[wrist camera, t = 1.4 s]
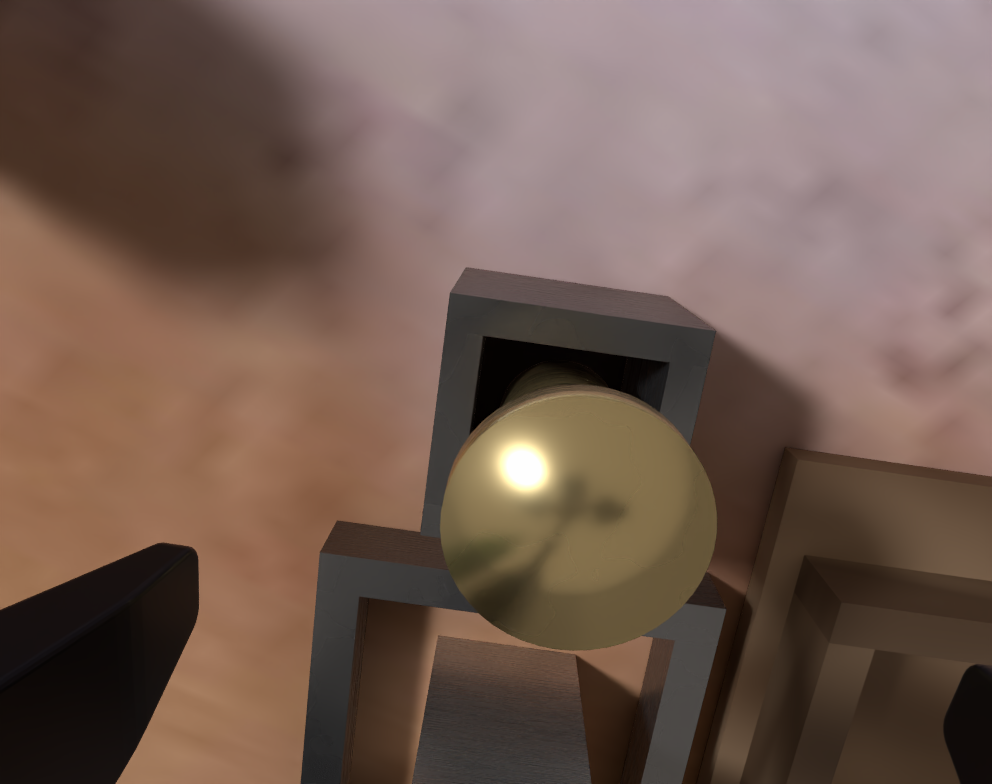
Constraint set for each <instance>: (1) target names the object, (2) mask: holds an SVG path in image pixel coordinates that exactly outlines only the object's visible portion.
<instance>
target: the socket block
mask: <svg viewBox="0 0 992 784" xmlns="http://www.w3.org/2000/svg"><path fill="white" fill-rule="evenodd" d="M715 333H716V331H715V330H714V329H712V328H711V327H710V326H708V325H707V324H706V323H704V322H703V321H701V320H700V319H699V318H697V317H696V316H694V315H693V314H692V313H690V312H689V311H688V310H686V309H685V308H683V307H682V306H681V305H679V304H678V303H676V302H675V301H674V300H672V299H671V298H670V297H668V296H661V295H654V294H647V293H640V292H633V291H626V290H619V289H612V288H605V287H598V286H592V285H585V284H578V283H571V282H564V281H557V280H550V279H543V278H536V277H529V276H522V275H516V274H509V273H502V272H495V271H488V270H481V269H474V268H467V267H466V268H465V270H464V271H463V273H462V275H461V276H460V278H459V279H458V281H457V283H456V284H455V286H454V287H453V289H452V290H451V292H450V297H449V305H448V313H447V321H446V330H445V338H444V346H443V354H442V362H441V370H440V378H439V386H438V394H437V402H436V411H435V419H434V427H433V435H432V443H431V451H430V459H429V467H428V475H427V483H426V492H425V500H424V508H423V516H422V524H421V532H414V531H407V530H400V529H393V528H385V527H378V526H371V525H364V524H357V523H350V522H343V521H337V522H336V524H335V525H334V527H333V529H332V531H331V533H330V535H329V537H328V538H327V540H326V542H325V544H324V546H323V548H322V550H321V551H320V558H319V570H318V582H317V594H316V606H315V618H314V630H313V642H312V654H311V666H310V678H309V690H308V703H307V715H306V727H305V739H304V751H303V763H302V775H301V784H349V782H350V772H351V763H352V753H353V744H354V734H355V725H356V715H357V705H358V696H359V686H360V677H361V667H362V658H363V648H364V639H365V629H366V620H367V610H368V601H369V598H374V599H381V600H388V601H395V602H403V603H410V604H417V605H424V606H431V607H438V608H446V609H453V610H460V611H467V612H474V613H478V612H477V611H476V610H475V609H474V608H473V607H472V606H471V605H470V604H469V603H468V601H467V600H466V599H465V597H464V596H463V594H462V593H461V592H460V590H459V589H458V587H457V585H456V584H455V582H454V580H453V578H452V576H451V574H450V572H449V569H448V566H447V564H446V561H445V557H444V553H443V549H442V544H441V533H440V521H441V509H442V504H443V499H444V495H445V490H446V486H447V482H448V478H449V474H450V471H451V469H452V466H453V463H454V460H455V459H456V457H457V455H458V453H459V451H460V449H461V447H462V445H463V444H464V443H465V441H466V440H467V438H468V437H469V436H470V434H471V433H472V432H473V427H474V419H475V412H476V405H477V398H478V391H479V384H480V376H481V369H482V362H483V355H484V348H485V340H486V336H489V337H496V338H503V339H510V340H517V341H524V342H531V343H538V344H545V345H552V346H559V347H565V348H572V349H579V350H586V351H593V352H600V353H607V354H614V355H621V356H627V359H626V365H625V370H624V375H623V380H622V385H621V390H620V392H623V393H626V394H629V395H631V396H633V397H635V398H637V399H639V400H641V401H643V402H645V403H647V404H648V405H650V406H651V407H653V408H654V409H656V410H657V411H659V412H660V413H661V414H662V415H664V416H665V417H666V418H667V419H668V420H669V421H670V422H671V423H672V424H673V425H674V426H675V427H676V428H677V429H678V431H679V432H680V433H681V434H682V435H683V437H684V438H685V440H686V441H687V443H688V444H689V446H690V444H691V439H692V435H693V431H694V426H695V422H696V417H697V413H698V408H699V404H700V400H701V395H702V391H703V386H704V382H705V377H706V373H707V369H708V364H709V360H710V355H711V351H712V346H713V342H714V338H715ZM725 613H726V607H725V605H724V603H723V601H722V599H721V597H720V595H719V593H718V591H717V589H716V587H715V585H714V583H713V581H712V579H711V577H710V575H709V573H705V575H704V577H703V579H702V581H701V582H700V584H699V586H698V587H697V589H696V590H695V592H694V593H693V595H692V596H691V597H690V598H689V599H688V600H687V602H686V603H685V604H684V605H683V606H682V607H681V608H680V609H679V610H678V611H677V612H676V613H675V614H674V615H673V616H671V617H670V618H669V619H668V620H666V621H665V622H664V623H662V624H661V625H659V626H658V627H656V628H655V629H653V630H651V631H649V632H648V633H646V634H644V635H642V636H647V637H653V642H652V646H651V651H650V655H649V659H648V664H647V668H646V672H645V677H644V681H643V686H642V690H641V694H640V699H639V703H638V707H637V712H636V716H635V721H634V725H633V729H632V734H631V738H630V742H629V747H628V751H627V756H626V760H625V764H624V769H623V773H622V777H621V782H620V784H682V781H683V777H684V773H685V769H686V765H687V761H688V757H689V753H690V749H691V745H692V742H693V738H694V734H695V730H696V726H697V722H698V718H699V714H700V710H701V707H702V703H703V699H704V695H705V691H706V687H707V683H708V679H709V675H710V672H711V668H712V664H713V660H714V656H715V652H716V648H717V644H718V640H719V636H720V633H721V629H722V625H723V621H724V617H725Z"/></svg>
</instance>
